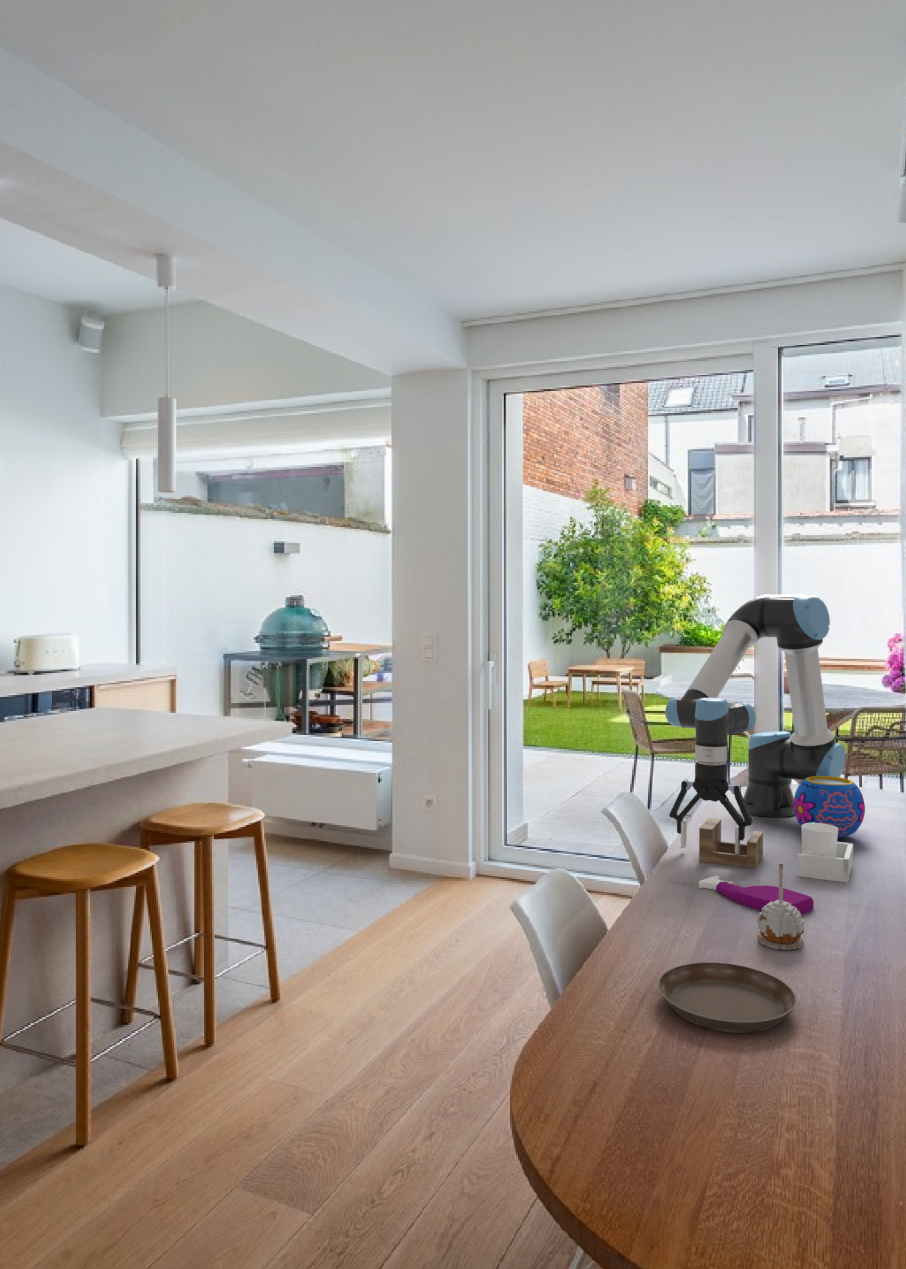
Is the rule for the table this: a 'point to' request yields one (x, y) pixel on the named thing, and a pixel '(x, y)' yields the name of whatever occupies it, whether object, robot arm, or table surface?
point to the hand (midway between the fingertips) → (710, 850)
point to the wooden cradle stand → (728, 847)
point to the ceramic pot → (830, 803)
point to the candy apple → (780, 923)
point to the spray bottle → (757, 894)
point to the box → (828, 864)
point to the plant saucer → (727, 996)
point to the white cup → (819, 839)
